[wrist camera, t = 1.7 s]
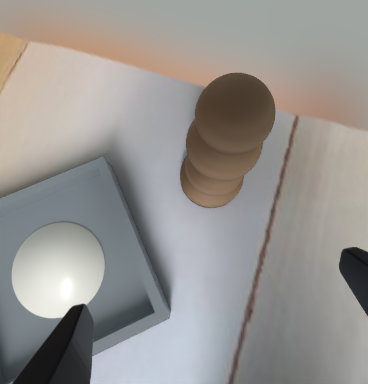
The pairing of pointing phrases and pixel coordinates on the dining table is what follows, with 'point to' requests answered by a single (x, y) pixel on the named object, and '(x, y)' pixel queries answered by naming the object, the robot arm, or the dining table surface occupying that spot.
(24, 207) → the square tray
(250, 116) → the bead column
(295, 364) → the dining table surface
